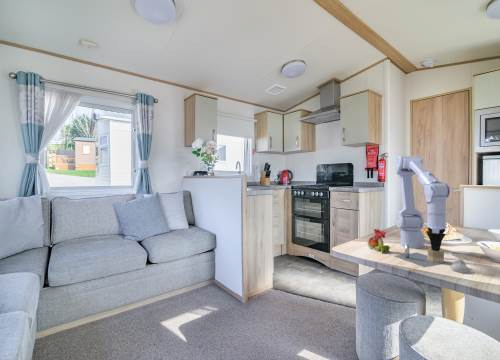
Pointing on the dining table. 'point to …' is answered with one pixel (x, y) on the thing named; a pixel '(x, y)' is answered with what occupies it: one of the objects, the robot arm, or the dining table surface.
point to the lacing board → (419, 259)
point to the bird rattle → (374, 241)
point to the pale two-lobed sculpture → (459, 266)
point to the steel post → (406, 250)
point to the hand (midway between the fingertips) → (435, 248)
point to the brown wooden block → (436, 256)
